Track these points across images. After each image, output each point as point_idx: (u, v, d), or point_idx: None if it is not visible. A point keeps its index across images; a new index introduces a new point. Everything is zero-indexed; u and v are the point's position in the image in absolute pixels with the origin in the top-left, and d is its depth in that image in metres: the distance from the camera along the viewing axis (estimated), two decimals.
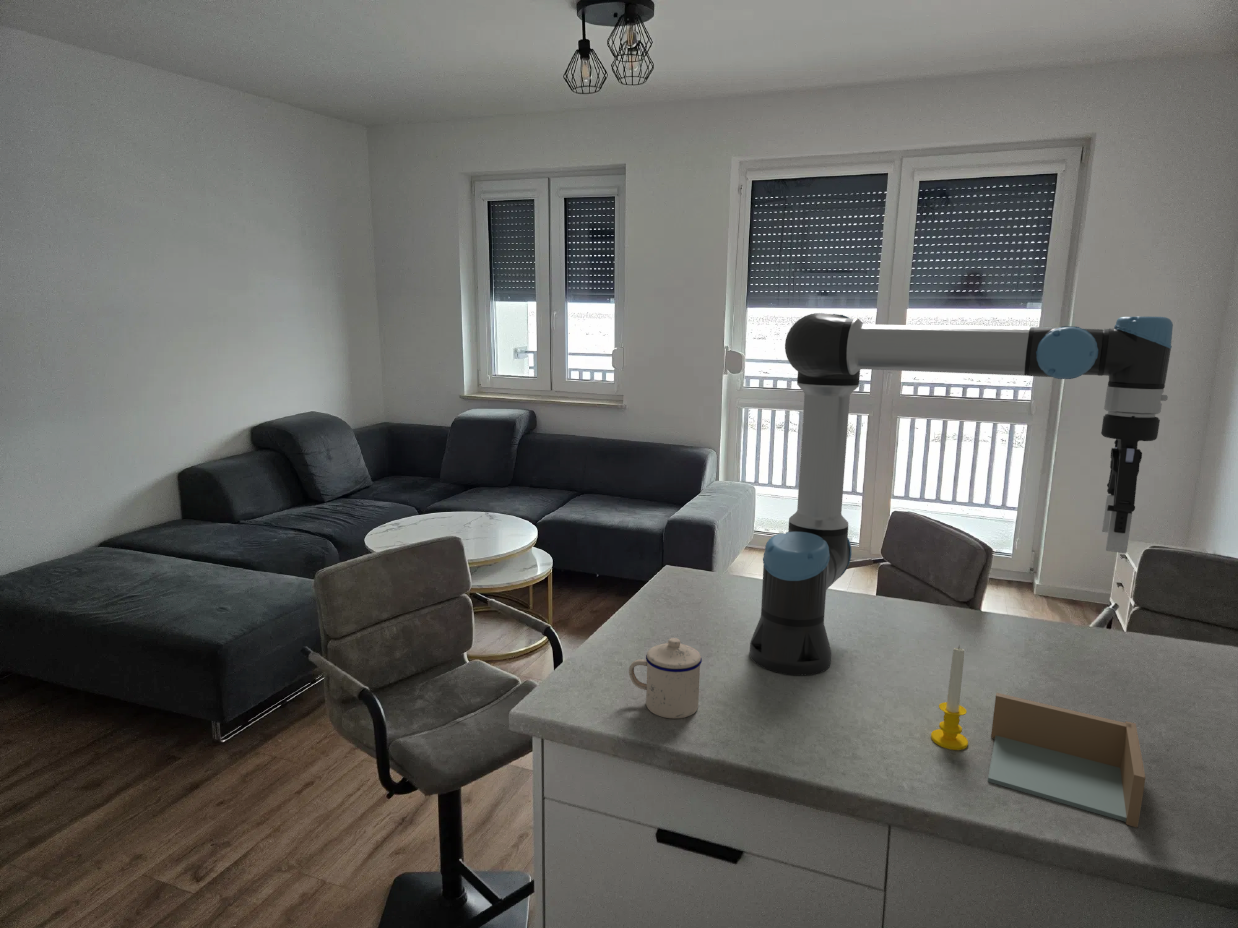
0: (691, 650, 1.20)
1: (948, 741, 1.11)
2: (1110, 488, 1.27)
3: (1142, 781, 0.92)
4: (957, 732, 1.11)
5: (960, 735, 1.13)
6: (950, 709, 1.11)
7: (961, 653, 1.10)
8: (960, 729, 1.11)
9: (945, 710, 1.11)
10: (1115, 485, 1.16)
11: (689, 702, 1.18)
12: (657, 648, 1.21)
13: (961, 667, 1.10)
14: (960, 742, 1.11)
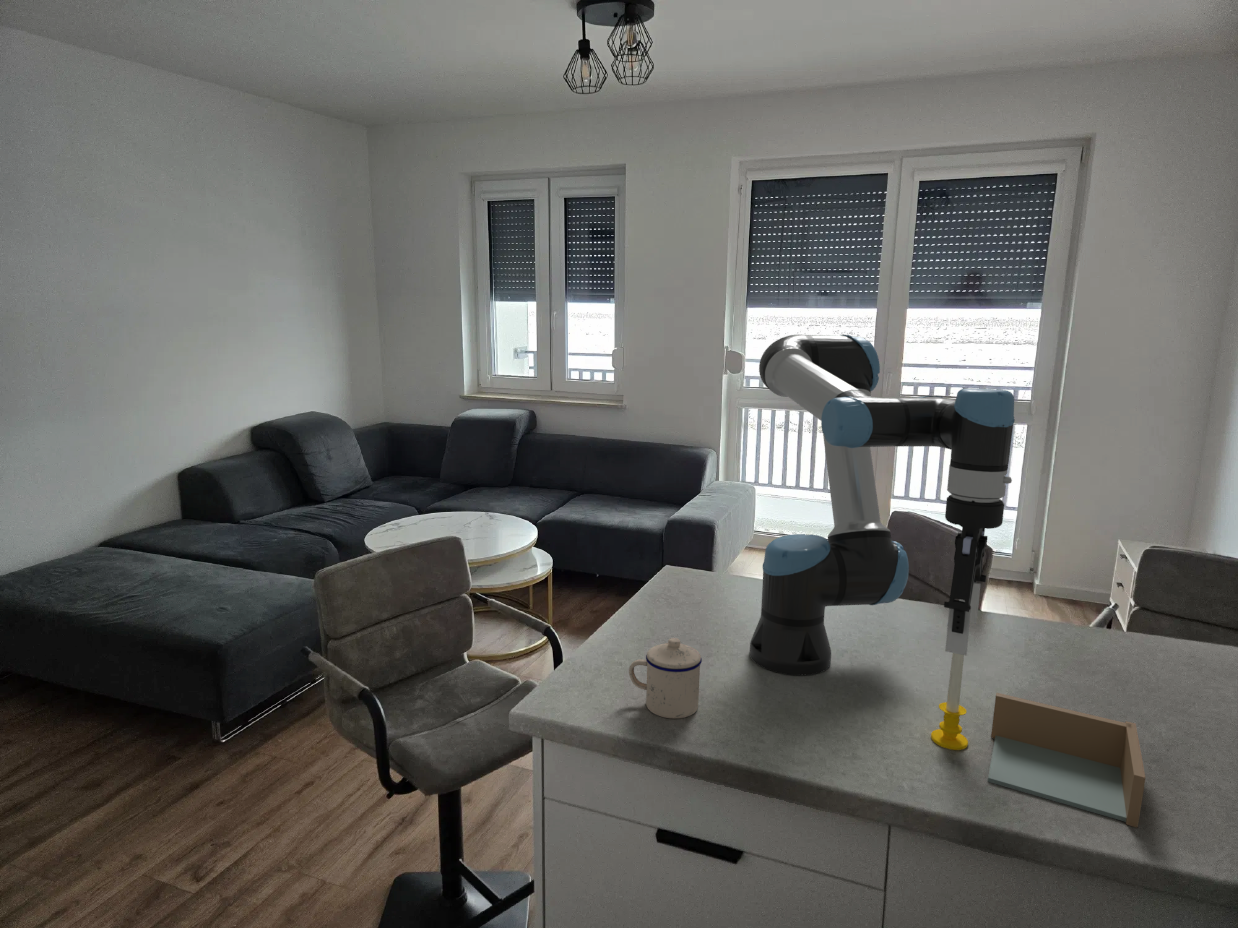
0: (691, 650, 1.20)
1: (948, 741, 1.11)
2: None
3: (1142, 781, 0.92)
4: (957, 732, 1.11)
5: (960, 735, 1.13)
6: (950, 709, 1.11)
7: None
8: (960, 729, 1.11)
9: (945, 710, 1.11)
10: None
11: (689, 702, 1.18)
12: (657, 648, 1.21)
13: (961, 667, 1.10)
14: (960, 742, 1.11)
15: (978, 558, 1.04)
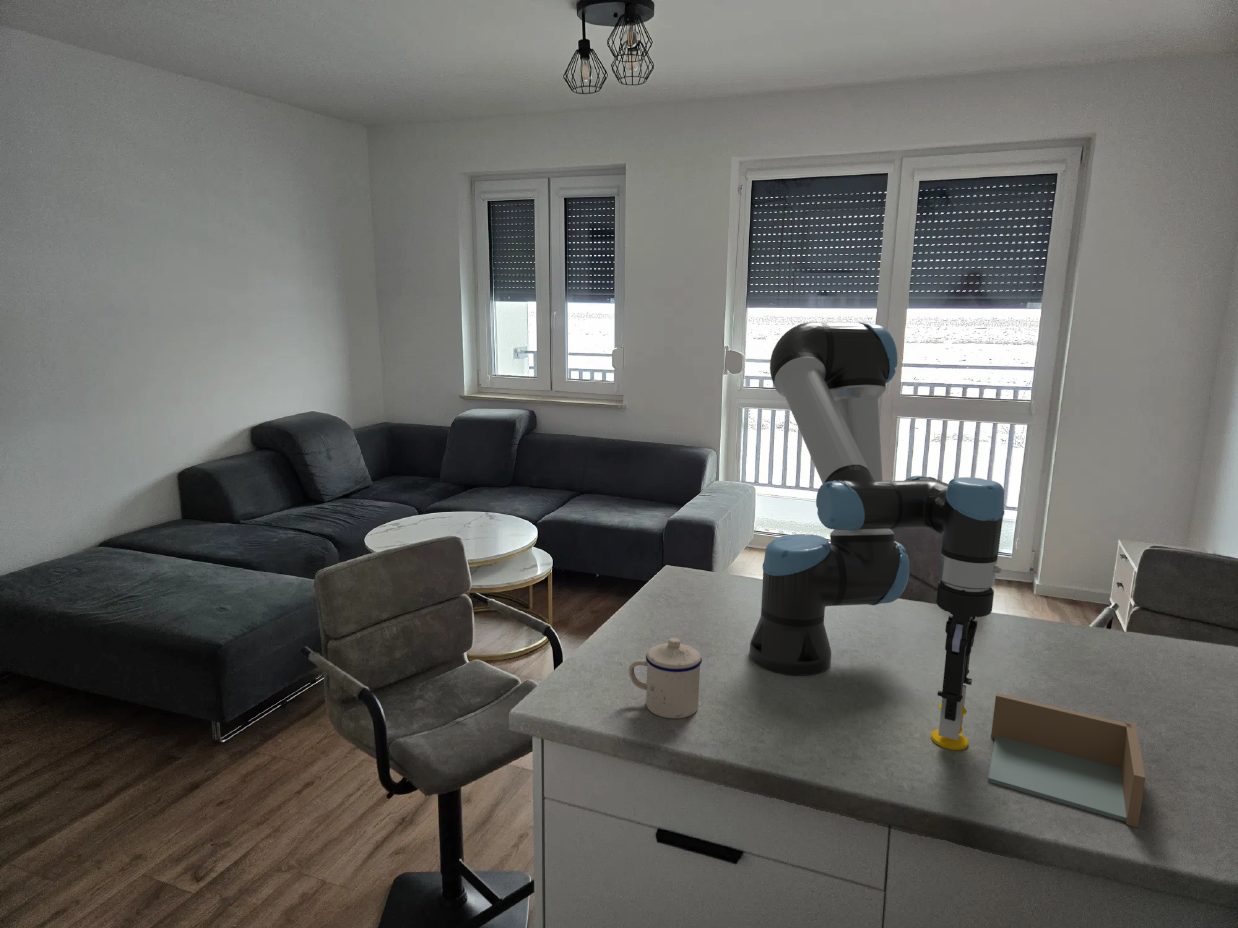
0: (691, 650, 1.20)
1: (948, 741, 1.11)
2: None
3: (1142, 781, 0.92)
4: None
5: (960, 735, 1.13)
6: None
7: None
8: (960, 729, 1.11)
9: None
10: None
11: (689, 702, 1.18)
12: (657, 648, 1.21)
13: None
14: (960, 742, 1.11)
15: (968, 648, 1.07)
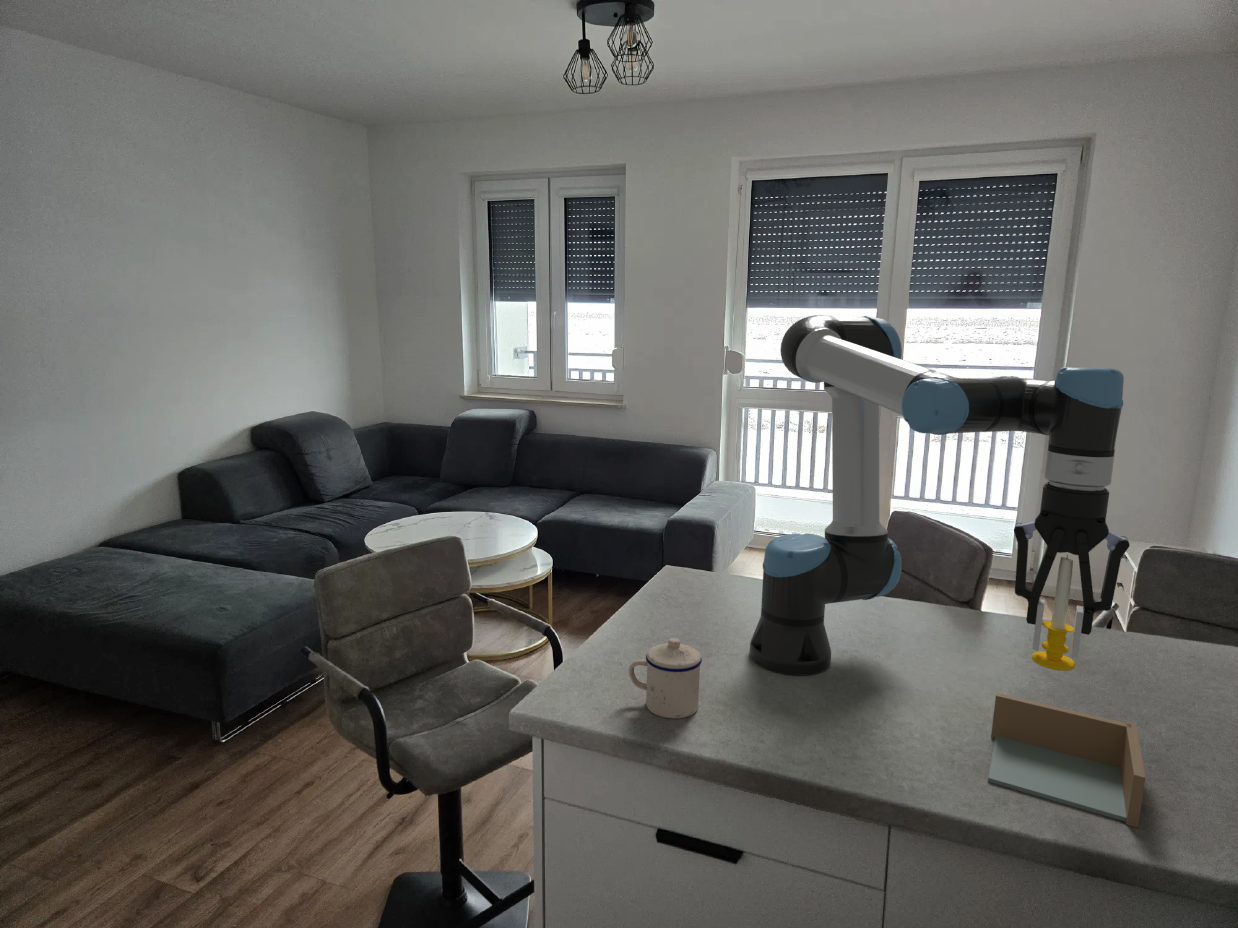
0: (691, 650, 1.20)
1: (1041, 655, 1.03)
2: None
3: (1142, 781, 0.92)
4: (1045, 647, 1.01)
5: (1066, 665, 1.00)
6: (1051, 623, 1.02)
7: (1061, 561, 0.99)
8: (1052, 648, 1.01)
9: (1049, 623, 1.02)
10: None
11: (689, 702, 1.18)
12: (657, 648, 1.21)
13: (1060, 577, 1.00)
14: (1047, 661, 1.01)
15: (1047, 549, 0.99)
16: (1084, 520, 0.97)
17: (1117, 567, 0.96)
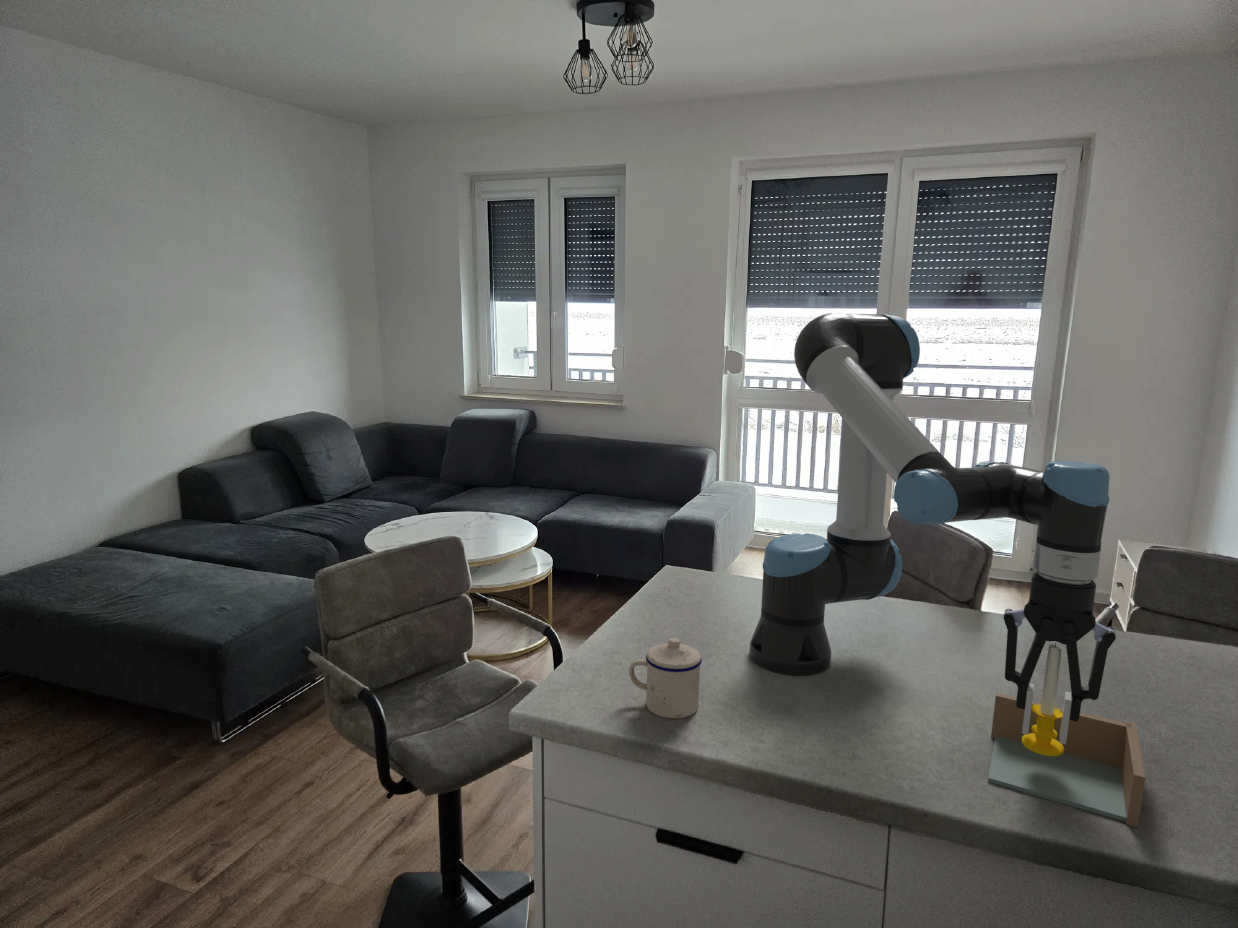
0: (691, 650, 1.20)
1: (1031, 739, 1.05)
2: None
3: (1142, 781, 0.92)
4: (1034, 732, 1.03)
5: (1055, 750, 1.02)
6: (1040, 708, 1.04)
7: (1049, 649, 1.02)
8: (1041, 733, 1.03)
9: (1038, 707, 1.05)
10: None
11: (689, 702, 1.18)
12: (657, 648, 1.21)
13: (1049, 665, 1.02)
14: (1037, 746, 1.03)
15: (1035, 637, 1.01)
16: (1072, 611, 0.99)
17: (1104, 658, 0.98)
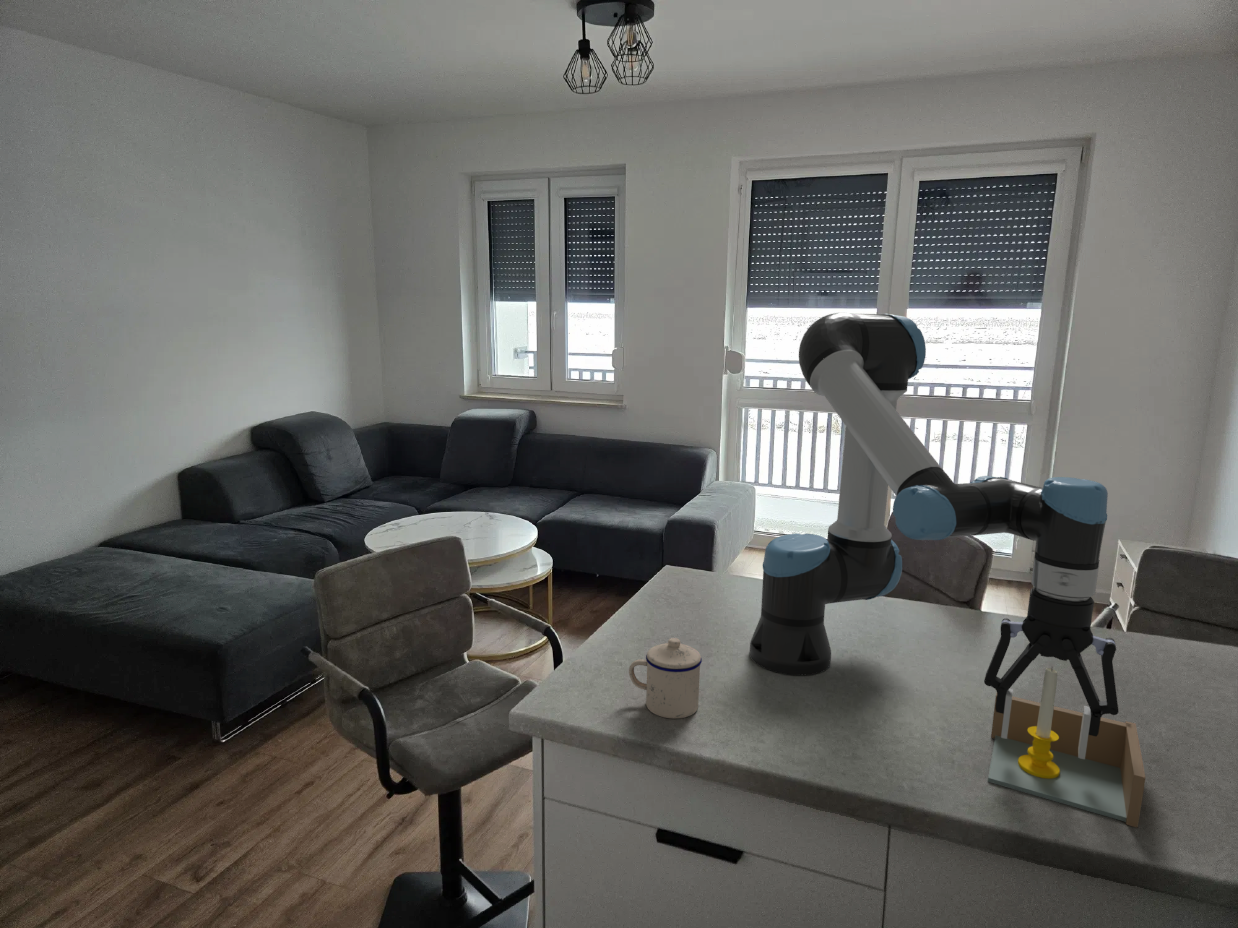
0: (691, 650, 1.20)
1: (1027, 760, 1.06)
2: None
3: (1142, 781, 0.92)
4: (1030, 754, 1.04)
5: (1051, 772, 1.03)
6: (1036, 730, 1.05)
7: (1046, 672, 1.02)
8: (1037, 756, 1.04)
9: (1035, 729, 1.05)
10: (1016, 661, 1.06)
11: (689, 702, 1.18)
12: (657, 648, 1.21)
13: (1045, 688, 1.02)
14: (1033, 768, 1.04)
15: (1029, 649, 1.02)
16: (1067, 630, 1.00)
17: (1111, 671, 0.98)
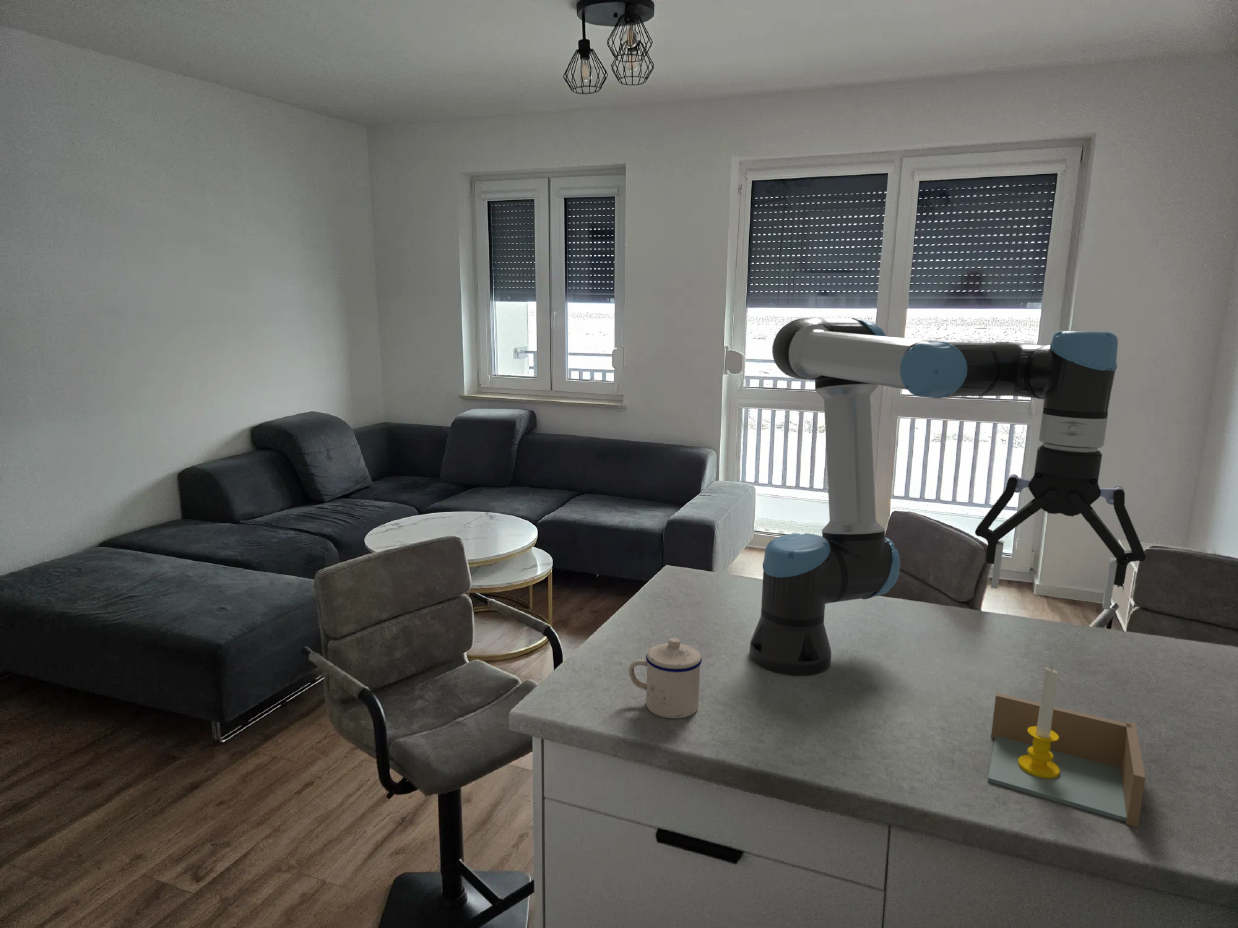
0: (691, 650, 1.20)
1: (1027, 760, 1.06)
2: None
3: (1142, 781, 0.92)
4: (1030, 754, 1.04)
5: (1051, 772, 1.03)
6: (1036, 730, 1.05)
7: (1046, 672, 1.02)
8: (1037, 755, 1.04)
9: (1035, 729, 1.05)
10: (1013, 516, 1.05)
11: (689, 702, 1.18)
12: (657, 648, 1.21)
13: (1045, 688, 1.03)
14: (1033, 768, 1.04)
15: (1032, 503, 1.02)
16: (1072, 488, 0.99)
17: (1126, 516, 0.96)
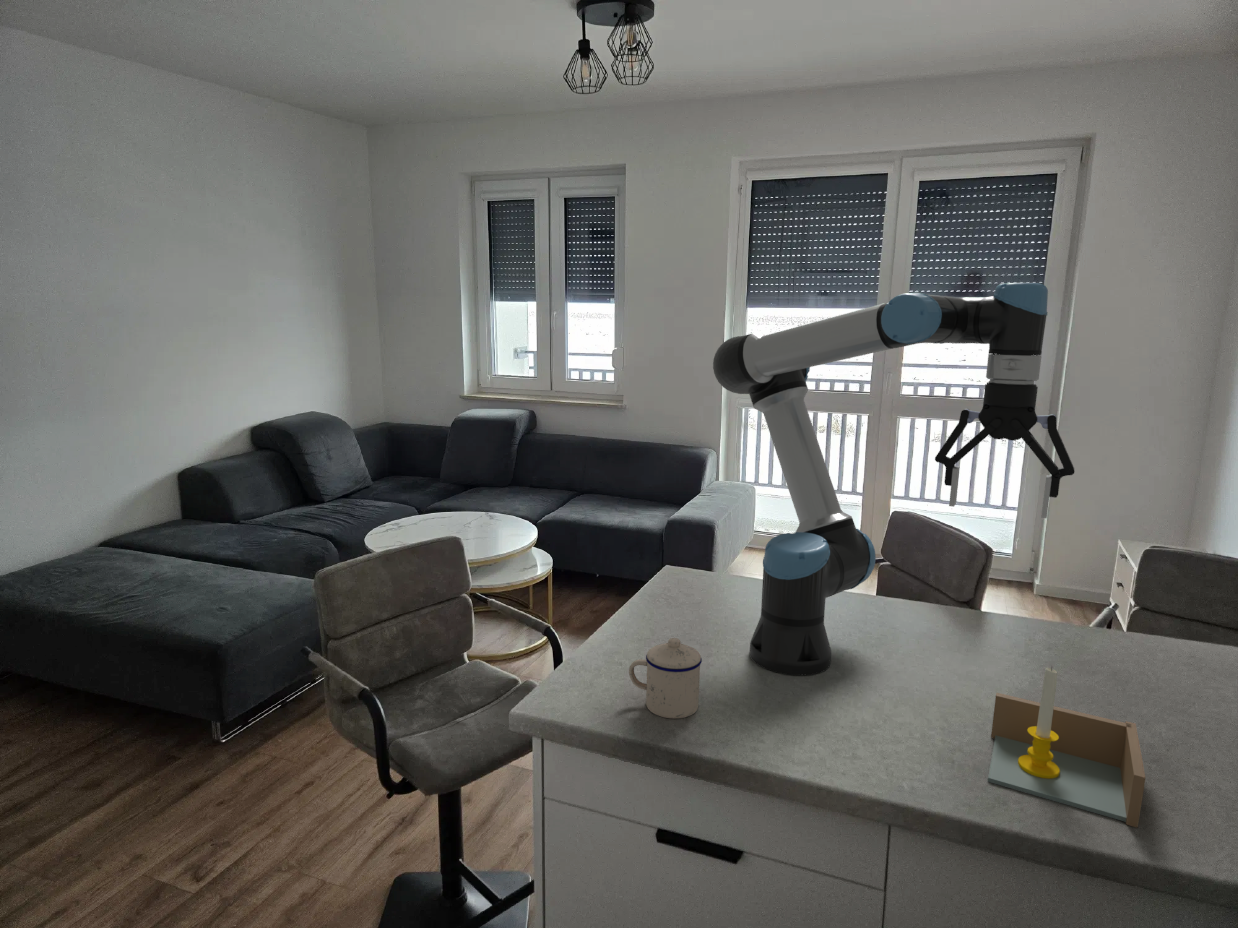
0: (691, 650, 1.20)
1: (1027, 760, 1.06)
2: None
3: (1142, 781, 0.92)
4: (1030, 754, 1.04)
5: (1051, 772, 1.03)
6: (1036, 730, 1.05)
7: (1046, 672, 1.02)
8: (1037, 756, 1.04)
9: (1035, 729, 1.05)
10: None
11: (689, 702, 1.18)
12: (657, 648, 1.21)
13: (1045, 688, 1.02)
14: (1033, 768, 1.04)
15: (981, 431, 1.20)
16: (1014, 416, 1.18)
17: (1058, 438, 1.15)
